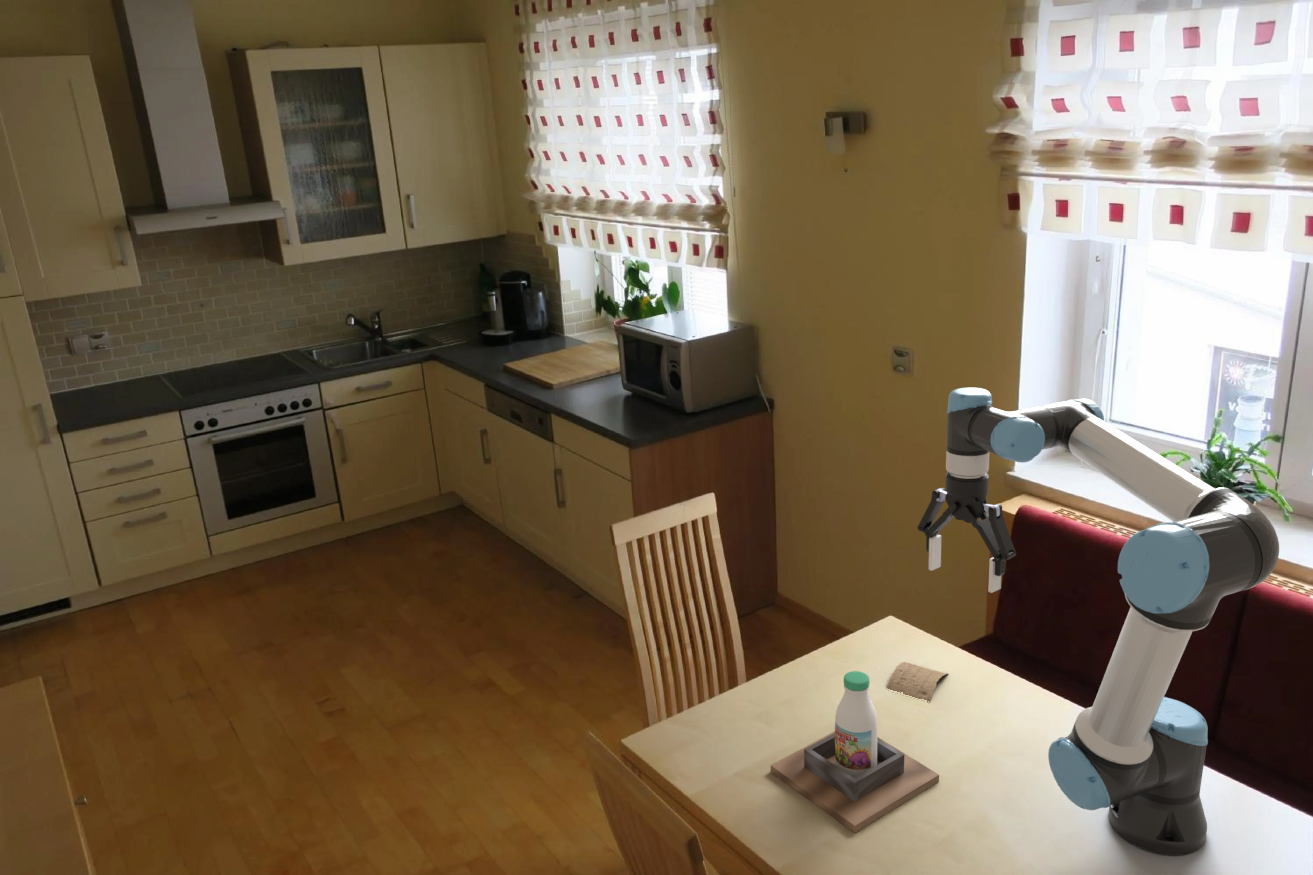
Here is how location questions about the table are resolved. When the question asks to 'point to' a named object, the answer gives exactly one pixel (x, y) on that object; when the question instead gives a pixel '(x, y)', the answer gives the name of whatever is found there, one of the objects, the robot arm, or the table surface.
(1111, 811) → the robot arm
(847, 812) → the bottle stand
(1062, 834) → the table surface
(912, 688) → the clay tablet
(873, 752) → the milk bottle
